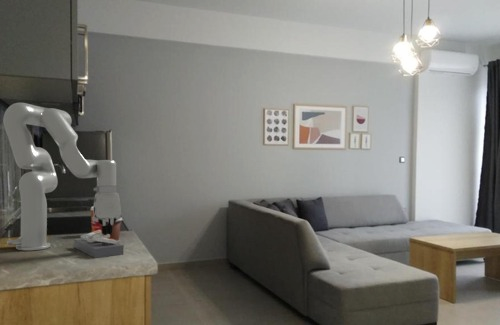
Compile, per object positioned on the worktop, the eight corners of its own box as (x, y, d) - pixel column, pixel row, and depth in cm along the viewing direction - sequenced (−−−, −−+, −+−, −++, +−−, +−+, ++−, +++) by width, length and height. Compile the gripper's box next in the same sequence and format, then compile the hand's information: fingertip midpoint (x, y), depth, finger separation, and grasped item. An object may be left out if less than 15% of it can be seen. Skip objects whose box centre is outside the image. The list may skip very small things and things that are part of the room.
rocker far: (84, 240, 169) (84, 237, 169) (81, 238, 172) (80, 235, 172) (103, 233, 174) (102, 230, 174) (99, 232, 177) (99, 229, 177)
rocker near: (96, 241, 158) (97, 237, 158) (92, 239, 162) (93, 236, 162) (116, 243, 163) (117, 240, 163) (111, 242, 167) (112, 238, 167)
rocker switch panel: (95, 258, 155) (95, 246, 155) (74, 247, 173) (74, 237, 173) (123, 254, 162) (123, 243, 162) (100, 244, 180) (100, 234, 180)
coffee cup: (121, 239, 194) (121, 213, 194) (122, 242, 185) (123, 216, 185) (100, 240, 190) (101, 214, 190) (100, 243, 182) (101, 216, 182)
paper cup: (87, 235, 203) (87, 206, 203) (102, 233, 208) (103, 205, 208) (93, 237, 197) (94, 207, 197) (109, 235, 203) (109, 207, 203)
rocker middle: (90, 242, 164) (90, 239, 163) (86, 240, 167) (86, 237, 167) (110, 237, 169) (109, 234, 169) (106, 235, 172) (105, 232, 172)
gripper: (91, 191, 162) (91, 238, 162) (128, 189, 172) (128, 233, 172) (84, 190, 168) (84, 236, 168) (120, 188, 178) (121, 231, 178)
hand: (106, 234), depth 170 cm, fingers closed
